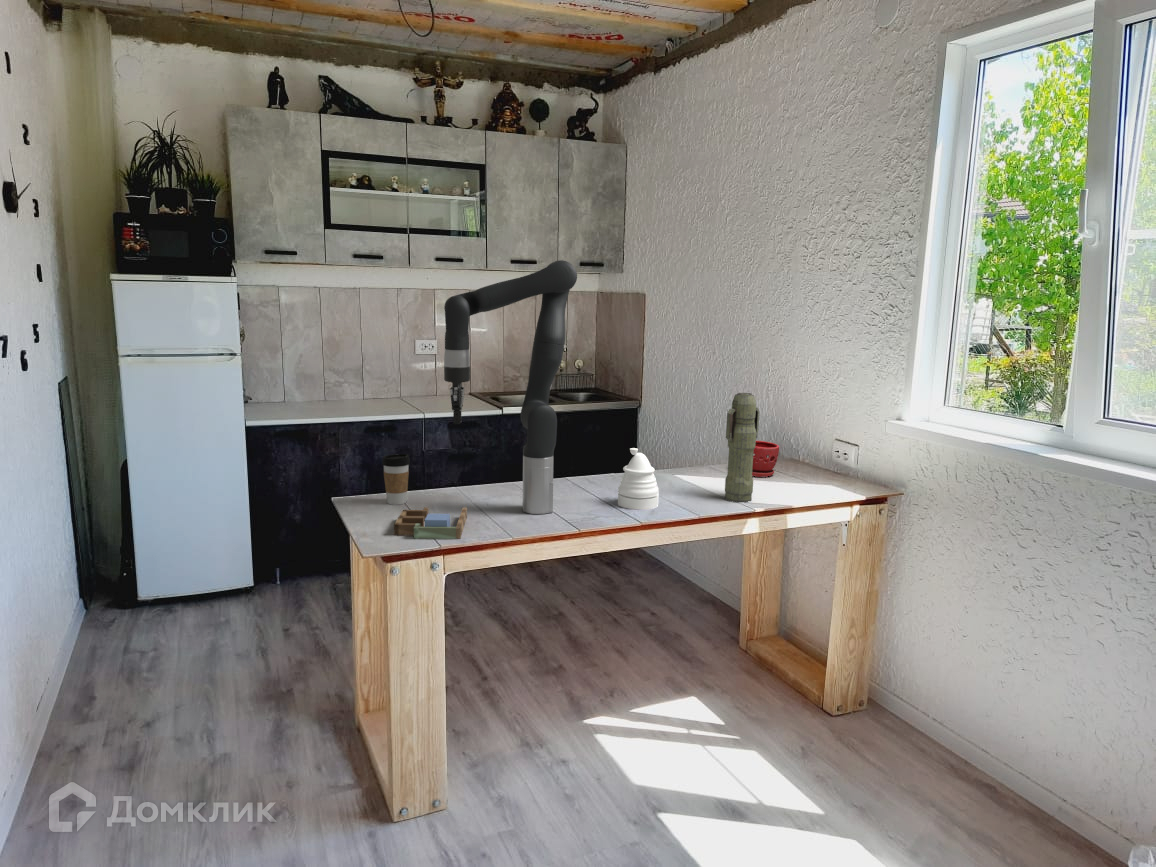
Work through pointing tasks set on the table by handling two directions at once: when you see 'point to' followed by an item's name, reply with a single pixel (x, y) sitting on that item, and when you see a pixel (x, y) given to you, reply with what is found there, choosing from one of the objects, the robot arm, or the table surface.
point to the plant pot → (764, 458)
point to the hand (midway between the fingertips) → (457, 423)
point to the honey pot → (638, 484)
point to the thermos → (741, 447)
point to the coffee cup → (396, 477)
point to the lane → (414, 525)
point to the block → (437, 520)
